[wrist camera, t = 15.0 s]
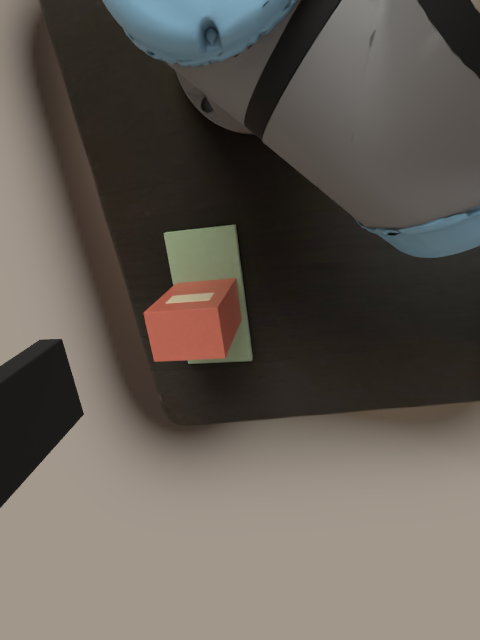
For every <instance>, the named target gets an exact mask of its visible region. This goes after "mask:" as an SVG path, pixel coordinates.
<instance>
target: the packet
mask: <svg viewBox="0 0 480 640" xmlns="http://www.w3.org/2000/svg"><path fill="white" fill-rule="evenodd" d="M144 317H145V322H146V326H147V331H148V335H149V340H150V344H151V349H152V353H153V358H154V362H158V361H179V360H201V359H222V358H226V356H227V353H228V351H229V349H230V346H231V344H232V341H233V339H234V337H235V334H236V332H237V330H238V327H239V325H240V323H241V320H242V318H241V311H240V303H239V296H238V288H237V281H236V278H230V279H218V280H207V281H195V282H183V283H176V284H175V285H174V286H173V287H172V288H170V289H169V290H168V291H167V292H166V293H165V294H164V295H163V296H162V297H161V298H159V299H158V300H157V301H156V302H155V303H154V304H153V305H152V306H151V307H149V308H148V309H147V310H146V311H145V312H144Z"/></svg>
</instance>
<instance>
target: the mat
mask: <svg viewBox="0 0 480 640" xmlns="http://www.w3.org/2000/svg"><path fill="white" fill-rule="evenodd" d="M164 239H165V244H166V249H167V254H168V260H169V265H170V270H171V275H172V281H173V286H174V285H175V284H176V283H183V282H195V281H207V280H218V279H230V278H236V281H237V288H238V296H239V303H240V311H241V318H242V320H241V323H240V325H239V327H238V330H237V332H236V334H235V337H234V339H233V341H232V344H231V346H230V349H229V351H228V353H227V356H226V358H222V359H201V360H188V364H195V363H217V362H239V361H252V359H253V355H252V347H251V339H250V331H249V324H248V316H247V308H246V300H245V292H244V285H243V277H242V269H241V261H240V253H239V246H238V238H237V230H236V225H227V226H218V227H209V228H200V229H191V230H182V231H173V232H165V233H164Z"/></svg>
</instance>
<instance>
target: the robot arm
mask: <svg viewBox="0 0 480 640" xmlns="http://www.w3.org/2000/svg"><path fill="white" fill-rule="evenodd" d="M102 1H103V3H104V4H105V6H106V8H107V9H108V10H109V12H110V13H111V15H112V16H113V17H114V18H115V20H116V21H117V22H118V23H119V25H120V26H122V27H123V29H124V31H125V33H126V35H127V36H128V37H129V38H130V39H131V40H132V42H133V43H134V44H135V45H136V46H137V47H138V48H139V49H141V50H143V51H144V52H145V53H146V54H148V55H149V56H151V57H153V58H155V59H157V60H162V61H164V62H165V63H167V64H168V65H169V66H170V67H172V68H173V69H174V70H175V71H176V74H177V77H178V79H179V82H180V84H181V86H182V88H183V90H184V92H185V93H186V95H187V97H188V98H189V99H190V101H191V102H192V104H193V105H194V106H195V107H196V108H197V109H198V110H199V111H200V112H201V113H202V114H203V115H204V116H205V117H207V118H208V119H209V120H211V121H212V122H214V123H215V124H217V125H219V126H221V127H223V128H225V129H228V130H231V131H233V132H237V133H242V134H255V135H256V136H257V137H258V138H259V139H261V140H262V141H263V143H264V144H266V145H267V146H268V147H269V148H271V149H272V150H273V151H274V152H275V153H277V154H278V155H279V156H280V157H281V158H283V159H284V160H285V161H286V162H287V163H289V164H290V165H291V166H292V167H294V168H295V169H296V170H297V171H298V172H300V173H301V174H302V175H303V176H304V177H306V178H307V179H308V180H309V181H310V182H312V183H313V184H314V185H315V186H317V187H318V188H319V189H320V190H321V191H323V192H324V193H325V194H326V195H327V196H329V197H330V198H331V199H332V200H333V201H335V202H336V203H337V204H338V205H340V206H341V207H342V208H343V209H344V210H346V211H347V212H348V213H349V214H350V215H352V216H353V217H354V218H355V220H356V222H357V223H358V224H359V225H360V226H361V227H362V228H366V230H367V231H369V232H372V233H374V234H378V235H379V236H380V237H382V238H383V239H384V240H386V241H387V242H388V243H390V244H391V245H392V246H394V247H395V248H397V249H398V250H400V251H401V252H403V253H406V254H408V255H411V256H415V257H422V258H436V257H444V256H449V255H453V254H457V253H461V252H464V251H467V250H470V249H472V248H475V247H478V246H480V0H102ZM83 415H84V413H83V410H82V407H81V403H80V400H79V396H78V393H77V389H76V386H75V383H74V379H73V376H72V372H71V369H70V366H69V362H68V359H67V355H66V352H65V348H64V345H63V341H62V339H49V340H39V341H37V342H36V343H34V344H33V345H31V346H30V347H29V348H27V349H25V350H24V351H23V352H21V353H20V354H18V355H16V356H15V357H13V358H12V359H11V360H9V361H8V362H6V363H4V364H3V365H2V366H0V507H1V506H2V505H3V504H4V503H5V502H6V501H7V500H8V499H9V498H10V496H11V495H12V494H13V493H14V492H15V491H16V490H17V489H18V487H19V486H20V485H21V484H22V483H23V482H24V481H25V480H26V478H27V477H28V476H29V475H30V474H31V473H32V472H33V471H34V470H35V468H36V467H37V466H38V465H39V464H40V463H41V462H42V461H43V459H44V458H45V457H46V456H47V455H48V454H49V453H50V451H51V450H52V449H53V448H54V447H55V446H56V445H57V444H58V443H59V442H60V440H61V439H62V438H63V437H64V436H65V435H66V434H67V433H68V431H69V430H70V429H71V428H72V427H73V426H74V425H75V424H76V422H77V421H78V420H79V419H80V418H81V417H82V416H83Z"/></svg>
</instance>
